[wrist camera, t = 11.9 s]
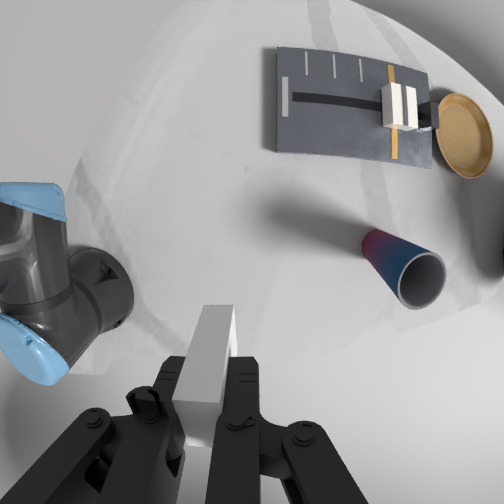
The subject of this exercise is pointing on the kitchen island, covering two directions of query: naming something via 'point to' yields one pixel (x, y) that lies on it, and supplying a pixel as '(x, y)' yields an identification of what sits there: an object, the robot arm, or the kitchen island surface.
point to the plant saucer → (464, 136)
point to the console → (348, 108)
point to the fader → (399, 107)
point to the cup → (406, 268)
